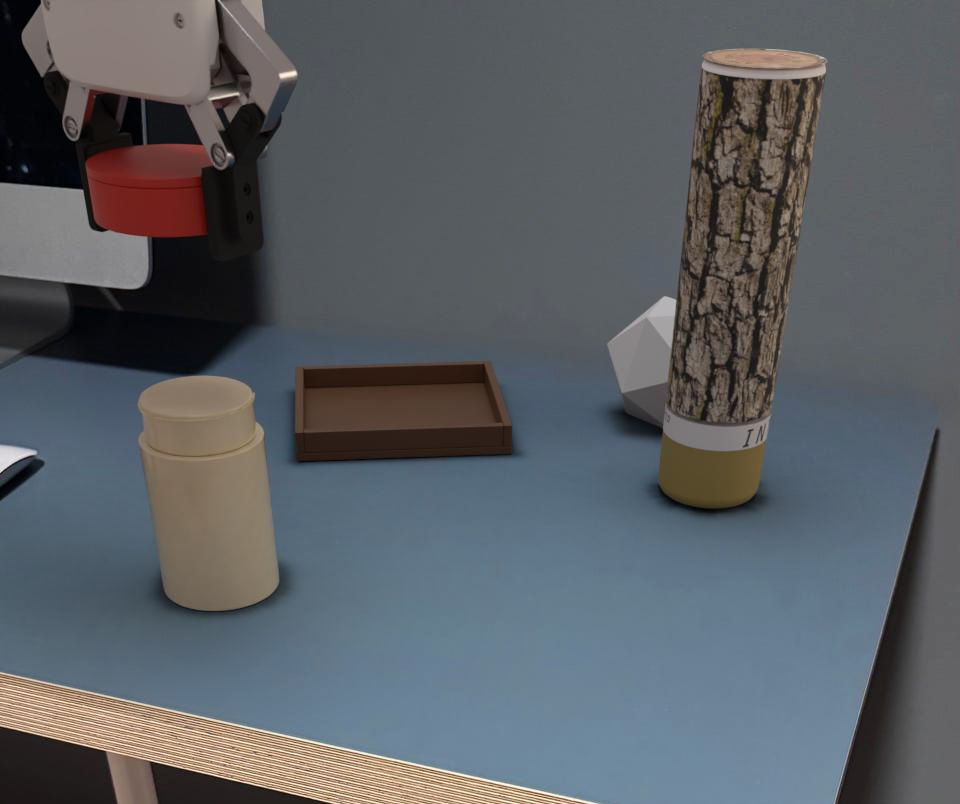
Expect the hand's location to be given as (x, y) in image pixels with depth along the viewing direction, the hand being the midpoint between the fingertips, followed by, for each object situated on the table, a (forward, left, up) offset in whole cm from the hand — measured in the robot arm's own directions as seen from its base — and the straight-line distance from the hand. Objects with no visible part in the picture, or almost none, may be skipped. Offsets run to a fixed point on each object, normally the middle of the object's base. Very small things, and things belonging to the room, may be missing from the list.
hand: (175, 237), depth 63 cm
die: (+32, +22, -19) cm, 43 cm away
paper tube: (+32, +9, -19) cm, 38 cm away
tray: (+12, +23, -19) cm, 32 cm away
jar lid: (0, 0, +3) cm, 3 cm away
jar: (0, -1, -19) cm, 19 cm away
